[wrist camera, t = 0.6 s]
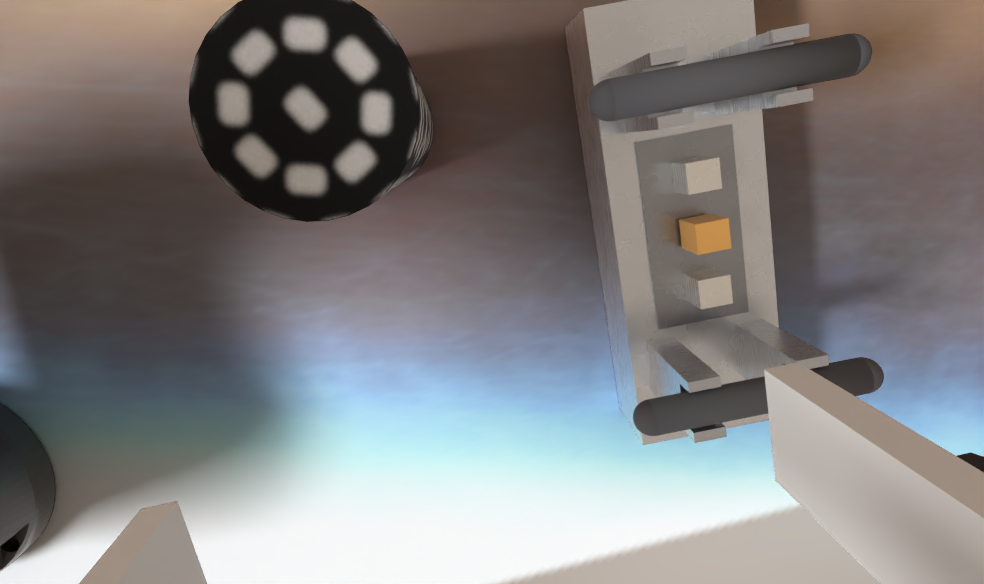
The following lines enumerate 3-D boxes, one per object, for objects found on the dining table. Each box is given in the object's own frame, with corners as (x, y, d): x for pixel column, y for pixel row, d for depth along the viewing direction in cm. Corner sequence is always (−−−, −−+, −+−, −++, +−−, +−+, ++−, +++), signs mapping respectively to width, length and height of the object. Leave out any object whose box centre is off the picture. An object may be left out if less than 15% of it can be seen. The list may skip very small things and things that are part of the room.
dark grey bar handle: (631, 429, 35) (641, 445, 33) (626, 397, 35) (636, 412, 33) (868, 381, 36) (892, 395, 34) (867, 349, 35) (891, 361, 33)
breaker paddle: (682, 248, 39) (698, 254, 36) (678, 219, 38) (695, 224, 36) (713, 242, 39) (731, 248, 36) (710, 213, 39) (728, 218, 36)
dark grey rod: (587, 125, 31) (597, 124, 30) (582, 84, 31) (591, 80, 29) (855, 75, 32) (882, 70, 30) (853, 34, 31) (880, 26, 29)
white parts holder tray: (619, 409, 48) (682, 505, 35) (564, 28, 42) (616, -28, 29) (745, 384, 48) (854, 470, 35) (709, 1, 42) (826, -66, 29)
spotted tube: (458, 132, 43) (465, 118, 23) (370, 213, 44) (307, 265, 24) (373, 35, 41) (304, -68, 22) (283, 121, 42) (139, 98, 22)
